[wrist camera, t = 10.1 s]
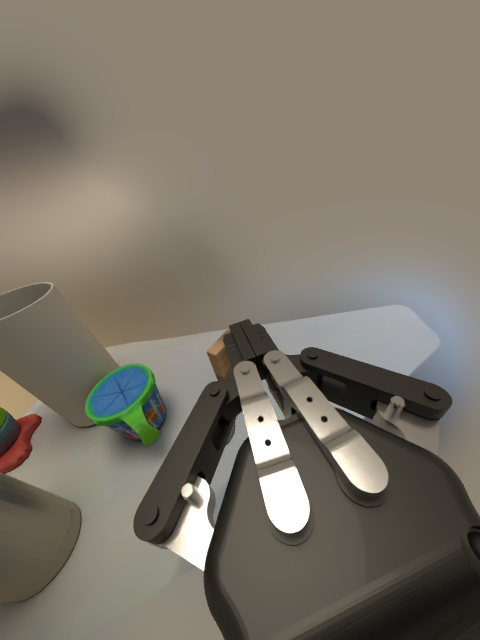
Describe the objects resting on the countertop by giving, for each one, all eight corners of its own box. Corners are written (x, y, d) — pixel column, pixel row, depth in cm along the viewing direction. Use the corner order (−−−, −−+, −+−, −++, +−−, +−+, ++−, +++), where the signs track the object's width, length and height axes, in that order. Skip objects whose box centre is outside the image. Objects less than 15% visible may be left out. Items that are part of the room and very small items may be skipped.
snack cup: (112, 408, 44) (81, 377, 38) (160, 378, 48) (139, 346, 42) (127, 480, 33) (87, 453, 27) (188, 434, 37) (165, 402, 31)
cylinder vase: (57, 422, 44) (-73, 330, 29) (102, 372, 53) (21, 282, 38) (102, 434, 40) (-20, 335, 25) (143, 378, 49) (71, 281, 34)
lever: (215, 443, 35) (187, 394, 26) (199, 432, 37) (169, 383, 28) (268, 364, 45) (260, 312, 37) (253, 359, 47) (242, 308, 39)
